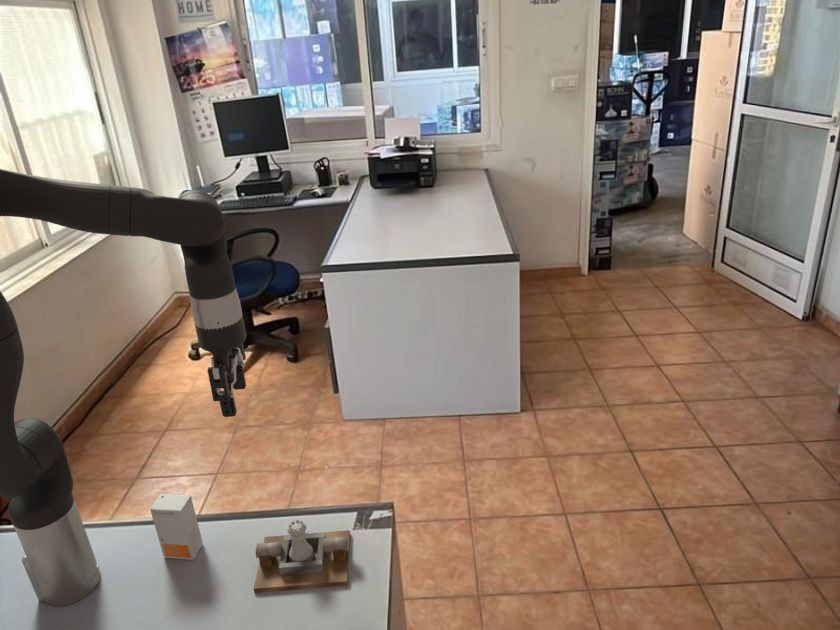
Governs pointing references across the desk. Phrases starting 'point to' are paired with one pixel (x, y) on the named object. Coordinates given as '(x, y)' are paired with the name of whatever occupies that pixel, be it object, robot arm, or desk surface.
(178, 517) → the skincare box
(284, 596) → the desk surface
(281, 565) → the frame on base plate
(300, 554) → the rook chess piece
